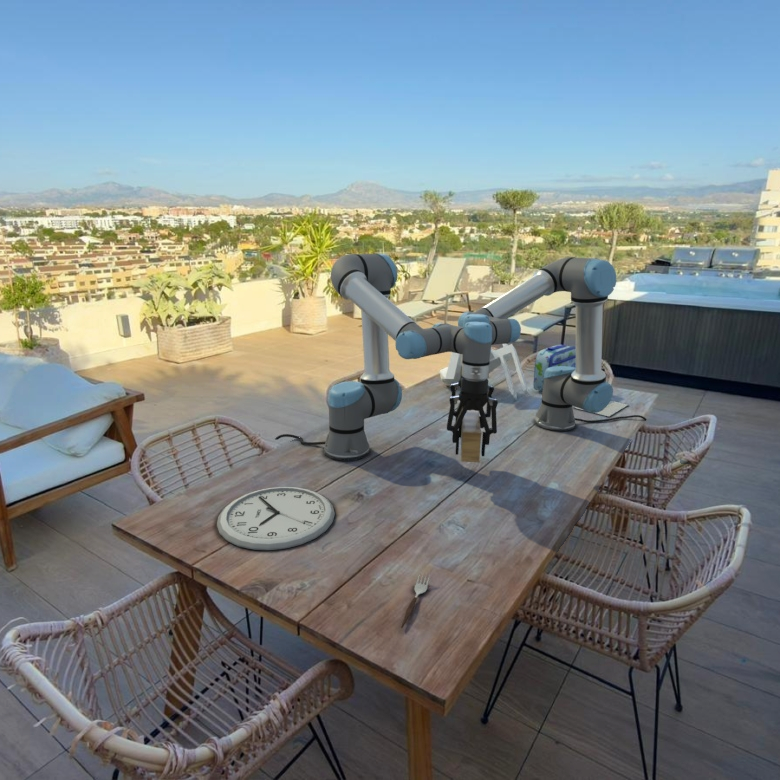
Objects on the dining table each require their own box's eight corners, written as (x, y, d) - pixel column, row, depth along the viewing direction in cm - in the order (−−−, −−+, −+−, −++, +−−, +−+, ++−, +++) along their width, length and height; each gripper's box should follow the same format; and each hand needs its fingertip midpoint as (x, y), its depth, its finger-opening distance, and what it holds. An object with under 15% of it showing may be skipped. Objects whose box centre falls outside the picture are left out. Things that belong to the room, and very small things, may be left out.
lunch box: (550, 397, 237) (555, 352, 231) (529, 391, 245) (533, 348, 238) (577, 386, 255) (582, 344, 249) (556, 381, 262) (561, 340, 256)
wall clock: (333, 542, 123) (202, 546, 121) (333, 547, 124) (203, 552, 121) (335, 482, 152) (229, 485, 149) (335, 487, 152) (230, 490, 150)
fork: (394, 628, 99) (394, 619, 99) (419, 578, 113) (419, 570, 113) (407, 632, 98) (408, 623, 98) (430, 581, 113) (431, 573, 112)
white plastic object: (461, 429, 252) (437, 405, 227) (444, 352, 274) (420, 323, 250) (535, 404, 240) (518, 377, 215) (510, 326, 262) (492, 293, 237)
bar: (460, 433, 170) (462, 407, 167) (476, 434, 170) (478, 407, 167) (461, 461, 150) (462, 432, 147) (479, 462, 149) (481, 433, 146)
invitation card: (608, 416, 214) (573, 407, 224) (608, 416, 214) (573, 408, 224) (628, 404, 229) (594, 396, 238) (628, 405, 229) (594, 397, 238)
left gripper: (439, 379, 143) (435, 456, 150) (512, 383, 141) (505, 461, 148) (439, 372, 150) (436, 446, 157) (509, 376, 148) (503, 450, 155)
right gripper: (443, 367, 157) (439, 439, 164) (504, 370, 155) (498, 442, 162) (443, 361, 164) (440, 430, 171) (502, 364, 162) (496, 433, 169)
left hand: (469, 453), depth 153 cm, fingers open, 7 cm apart
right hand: (468, 436), depth 166 cm, fingers closed on bar, 5 cm apart
